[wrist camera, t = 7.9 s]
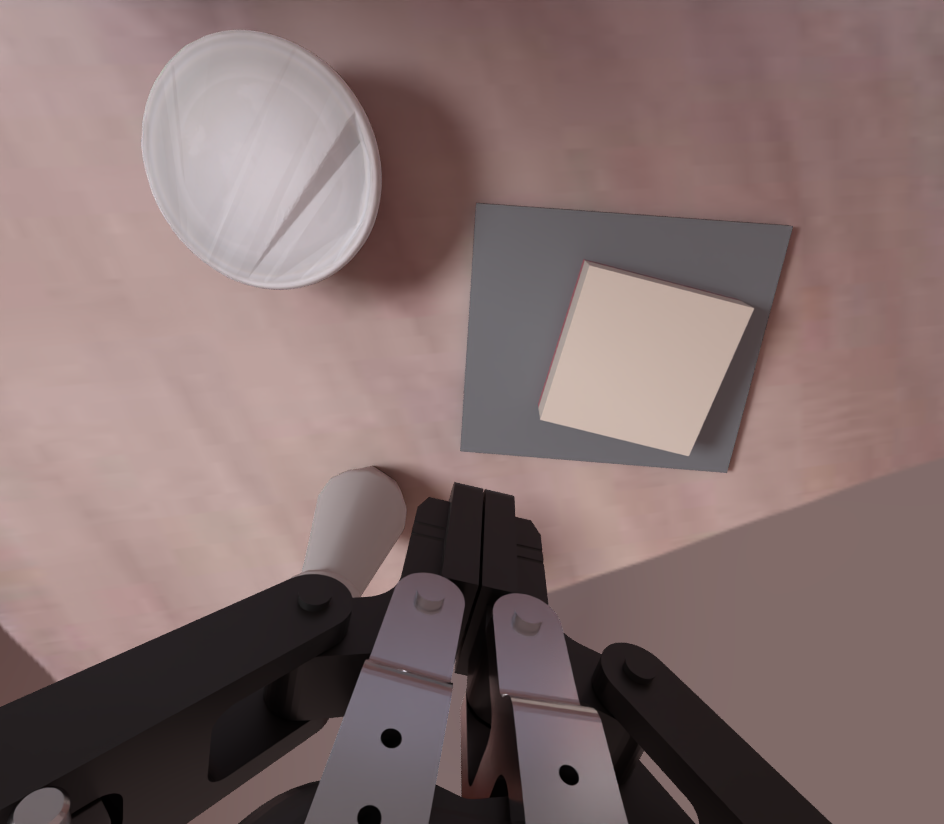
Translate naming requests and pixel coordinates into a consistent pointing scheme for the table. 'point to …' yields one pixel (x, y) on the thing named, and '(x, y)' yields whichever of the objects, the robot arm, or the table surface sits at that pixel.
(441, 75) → the table surface
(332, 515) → the salt shaker
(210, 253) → the ramekin
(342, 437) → the table surface
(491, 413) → the slate mat
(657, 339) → the tile
